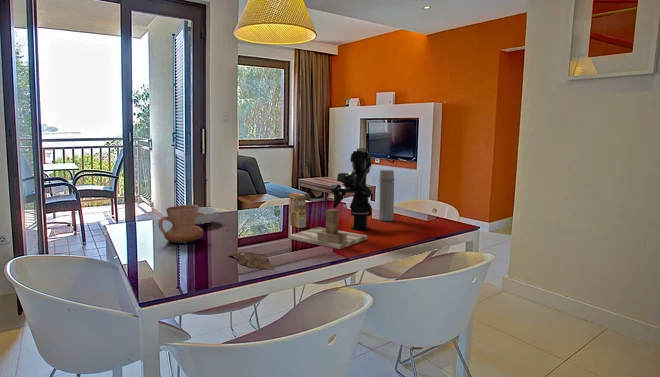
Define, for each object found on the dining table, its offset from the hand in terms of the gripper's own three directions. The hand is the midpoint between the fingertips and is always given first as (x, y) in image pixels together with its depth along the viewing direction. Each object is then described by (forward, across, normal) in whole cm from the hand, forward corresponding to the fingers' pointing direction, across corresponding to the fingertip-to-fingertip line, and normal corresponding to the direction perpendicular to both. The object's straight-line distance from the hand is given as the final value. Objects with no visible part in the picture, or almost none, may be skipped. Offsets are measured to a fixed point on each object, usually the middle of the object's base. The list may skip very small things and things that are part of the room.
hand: (342, 207), depth 172 cm
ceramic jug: (+38, -46, -29) cm, 66 cm away
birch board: (+12, -7, +6) cm, 15 cm away
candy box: (+5, -34, +10) cm, 35 cm away
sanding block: (+14, 0, +2) cm, 14 cm away
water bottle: (-18, -12, +41) cm, 46 cm away
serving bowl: (+23, -71, -16) cm, 76 cm away
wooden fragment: (+38, -4, -23) cm, 44 cm away
